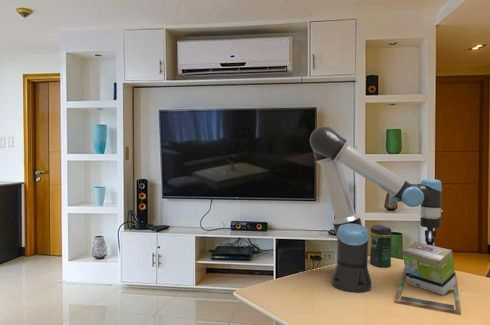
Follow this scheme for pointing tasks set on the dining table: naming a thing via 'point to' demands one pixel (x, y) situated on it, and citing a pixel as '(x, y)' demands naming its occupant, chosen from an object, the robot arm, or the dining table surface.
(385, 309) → the dining table surface
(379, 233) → the coffee jar
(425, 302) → the tray
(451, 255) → the tea box
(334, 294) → the dining table surface
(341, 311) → the dining table surface
